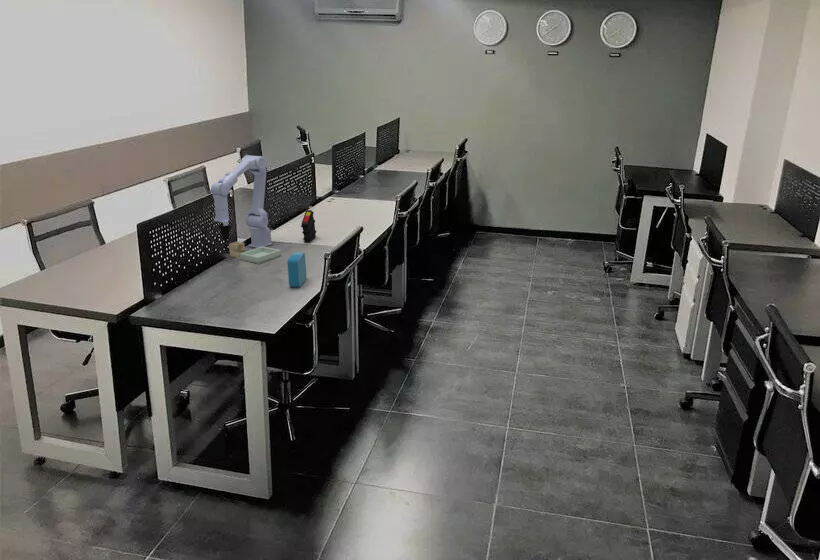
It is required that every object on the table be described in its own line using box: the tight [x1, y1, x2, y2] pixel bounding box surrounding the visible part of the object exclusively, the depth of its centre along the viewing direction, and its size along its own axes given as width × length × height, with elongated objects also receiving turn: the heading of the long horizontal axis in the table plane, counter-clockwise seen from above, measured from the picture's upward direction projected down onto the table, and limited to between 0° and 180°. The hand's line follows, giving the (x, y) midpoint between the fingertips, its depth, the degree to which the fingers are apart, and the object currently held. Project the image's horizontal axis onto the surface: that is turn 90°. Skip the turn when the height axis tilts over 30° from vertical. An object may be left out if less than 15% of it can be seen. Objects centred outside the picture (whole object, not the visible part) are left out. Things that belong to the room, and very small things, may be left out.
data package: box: [287, 251, 307, 288], centre depth 273 cm, size 12×4×12 cm, turn 175°
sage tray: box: [239, 246, 282, 265], centre depth 308 cm, size 14×12×3 cm
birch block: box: [228, 241, 246, 259], centre depth 312 cm, size 5×5×6 cm
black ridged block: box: [300, 209, 317, 244], centre depth 334 cm, size 4×13×15 cm, turn 172°
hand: (224, 237), depth 307 cm, fingers open, 7 cm apart
